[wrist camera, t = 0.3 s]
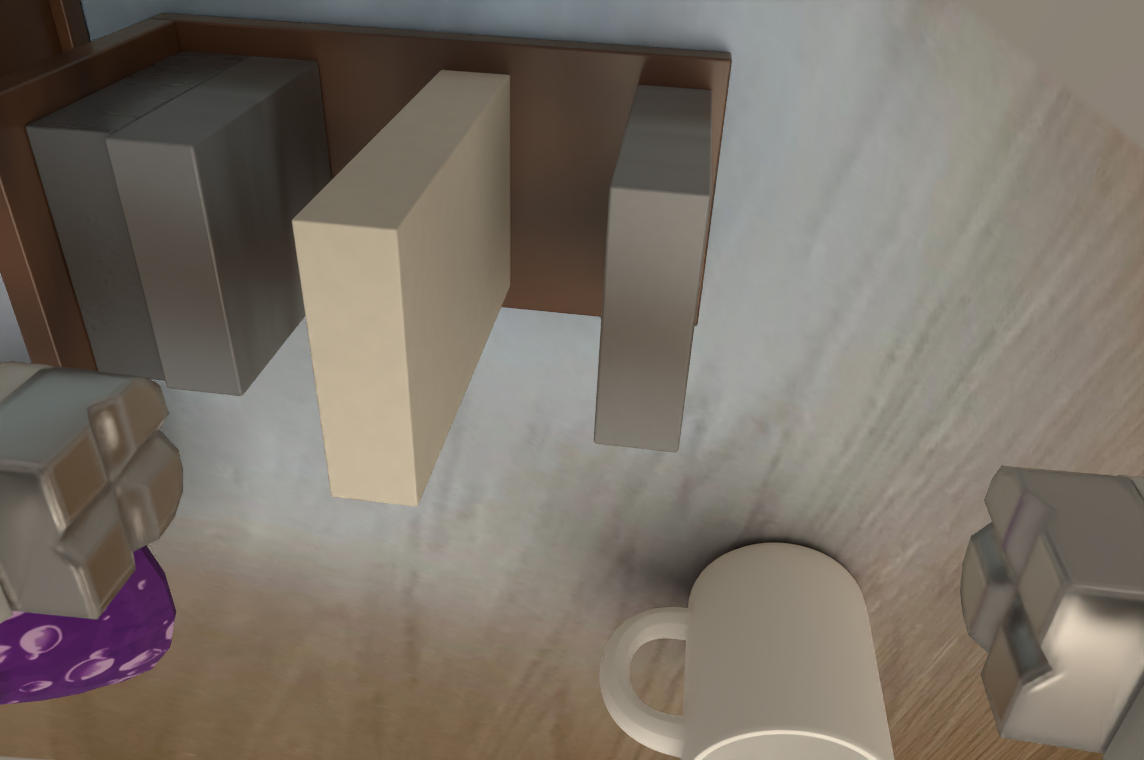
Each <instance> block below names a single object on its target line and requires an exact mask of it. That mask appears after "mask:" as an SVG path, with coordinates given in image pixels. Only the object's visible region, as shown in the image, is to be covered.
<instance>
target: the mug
mask: <svg viewBox="0 0 1144 760" xmlns="http://www.w3.org/2000/svg"><path fill="white" fill-rule="evenodd" d="M661 638H672V639H680V640H685V641H686V650H685V674H684V699H683V716H676V715H670V714H666V713H662V712H659V711H656V710H654V709H652V708H650V707H648V706H647V705H645V704H644V703H643V702H642V701H640V699H639V698H638V697H637V695H636V694H635V692H634V690H633V689H632V686H631V683H630V678H629V668H630V663H631V659H632V657H633V655H634V654H635V652H636V651H637V649H638V648H639V647H640V646H641V645H643V644H644V643H646V642H648V641H651V640H654V639H661ZM599 680H600V689H601V692H602V696H603V699H604V702H605V705H606V707H607V709H608V711H609V713H610V715H611V716H612V718H613V719H614V720H615V722H616V723H617V725H618V726H619V727H620V728H621V729H622V730H623V731H625V732H626V733H627V734H628V735H629V736H630V737H632V738H633V739H635V740H636V741H638V742H639V743H641V744H643V745H645V746H647V747H649V748H651V749H653V750H656V751H659V752H661V753H664V754H668V755H671V756H676V757H679V758H681V760H894V756H893V750H892V745H891V739H890V734H889V728H888V723H887V717H886V712H885V706H884V701H883V695H882V690H881V684H880V678H879V673H878V667H877V662H876V656H875V651H874V645H873V640H872V634H871V629H870V623H869V618H868V613H867V608H866V605H865V601H864V598H863V595H862V593H861V590H860V588H859V586H858V584H857V583H856V581H855V579H854V578H853V577H852V576H851V574H850V573H849V572H848V571H847V570H846V569H845V568H844V567H843V566H842V565H841V564H839V563H838V562H837V561H835V560H834V559H832V558H831V557H829V556H827V555H825V554H823V553H821V552H819V551H816V550H814V549H811V548H807V547H804V546H800V545H795V544H789V543H760V544H753V545H749V546H744V547H741V548H738V549H735V550H733V551H730V552H728V553H726V554H724V555H722V556H720V557H719V558H717V559H716V560H714V561H713V562H712V563H710V564H709V565H708V566H707V567H706V568H705V569H704V570H703V571H702V573H701V574H700V575H699V577H698V578H697V580H696V581H695V583H694V585H693V587H692V590H691V594H690V597H689V602H688V608H684V607H661V608H654V609H650V610H646V611H643V612H641V613H638V614H636V615H634V616H632V617H631V618H629V619H628V620H626V621H625V622H623V623H622V624H621V625H620V626H619V627H618V628H617V629H616V630H615V631H614V632H613V634H612V635H611V637H610V638H609V640H608V642H607V644H606V646H605V649H604V651H603V654H602V658H601V662H600V669H599Z"/></svg>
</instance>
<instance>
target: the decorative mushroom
mask: <svg viewBox="0 0 1144 760" xmlns="http://www.w3.org/2000/svg"><path fill="white" fill-rule="evenodd" d="M133 555H134V562H135V568H136V570H135V571H134V573H133V574H132V575H131V576H130V578H129V579H128V580H127V582H126V583H125V584H124V586H123V587H122V588H121V589H120V591H119V592H118V593H117V595H116V596H115V597H114V599H113V600H112V601H111V602H110V604H109V605H108V606H107V608H106V609H105V610H104V612H103V613H102V614H101V616H100V617H99V618H98V619H88V618H78V617H68V616H58V615H48V614H38V613H29V612H19V611H12V612H13V616H11V617H10V618H8V619H7V620H5V621H4V622H2V623H0V705H1V704H12V703H22V702H32V701H41V700H47V699H53V698H59V697H64V696H70V695H76V694H80V693H84V692H87V691H90V690H93V689H96V688H99V687H103V686H107V685H111V684H116V683H120V682H123V681H126V680H128V679H130V678H132V677H135V676H137V675H139V674H142V673H144V672H146V671H149V670H151V669H152V668H153V667H154V666H155V665H156V663H157V662H158V661H159V660H160V659H161V657H162V656H163V655H164V654H165V653H166V651H167V650H168V649H169V648H170V645H171V641H172V634H173V628H174V622H175V616H176V609H175V606H174V603H173V599H172V596H171V592H170V589H169V586H168V582H167V579H166V575H165V572H164V571H163V569H162V568H161V566H160V565H159V563H158V562H157V561H156V559H155V558H154V556H153V555H152V553H151V552H150V550H149V549H148V547H147V546H144V547H142V548H140V549H138V550H136V551H134V552H133Z"/></svg>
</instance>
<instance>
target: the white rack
mask: <svg viewBox="0 0 1144 760" xmlns="http://www.w3.org/2000/svg"><path fill="white" fill-rule="evenodd" d="M89 42H90V41H89V37H88V33H87V29H86V25H85V21H84V17H83V13H82V9H81V5H80V0H0V77H3V76H5V75H8V74H10V73H13V72H16V71H18V70H21V69H23V68H26V67H28V66H31V65H33V64H36V63H38V62H41V61H43V60H46V59H48V58H51V57H53V56H56V55H58V54H61V53H63V52H66V51H68V50H71V49H73V48H76V47H78V46H81V45H83V44H86V43H89Z"/></svg>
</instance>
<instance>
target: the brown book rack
mask: <svg viewBox="0 0 1144 760" xmlns="http://www.w3.org/2000/svg"><path fill="white" fill-rule="evenodd" d="M731 63H732V58H731V53H729V52H715V51H701V50H687V49H672V48H658V47H644V46H629V45H615V44H601V43H586V42H572V41H558V40H544V39H529V38H515V37H501V36H486V35H472V34H458V33H444V32H429V31H415V30H401V29H386V28H372V27H358V26H344V25H329V24H315V23H301V22H286V21H272V20H258V19H244V18H229V17H215V16H201V15H186V14H172V13H162V14H159V15H157V16H154V17H152V18H149V19H146V20H144V21H141V22H139V23H136V24H134V25H131V26H129V27H126V28H124V29H121V30H119V31H116V32H114V33H111V34H109V35H106V36H104V37H101V38H99V39H96V40H94V41H91V42H89V43H86V44H83V45H81V46H78V47H76V48H73V49H71V50H68V51H66V52H63V53H61V54H58V55H56V56H53V57H51V58H48V59H46V60H43V61H41V62H38V63H36V64H33V65H31V66H28V67H26V68H23V69H21V70H18V71H16V72H13V73H10V74H8V75H5V76H3V77H0V273H1V276H2V278H3V281H4V284H5V287H6V290H7V293H8V296H9V299H10V302H11V304H12V307H13V310H14V313H15V316H16V319H17V322H18V325H19V328H20V330H21V333H22V336H23V339H24V342H25V345H26V348H27V351H28V354H29V356H30V359H31V362H32V364H42V365H49V366H53V367H56V366H60V367H68V368H76V369H84V370H92V371H100V372H108V373H116V374H124V375H132V376H140V377H147V378H149V379H157V380H165V381H166V385H167V387H168V388H173V389H182V390H191V391H200V392H209V393H218V394H227V395H236V396H242V395H243V394H244V393H245V392H246V390H247V389H248V388H249V387H250V385H251V384H252V383H253V382H254V380H255V379H256V378H257V376H258V375H259V374H260V373H261V371H262V370H263V369H264V368H265V366H266V365H267V364H268V362H269V361H270V360H271V359H272V357H273V356H274V355H275V354H276V352H277V351H278V350H279V349H280V347H281V346H282V345H283V343H284V342H285V341H286V340H287V338H288V337H289V336H290V335H291V333H292V332H293V331H294V329H295V328H296V327H297V326H298V324H299V323H300V322H301V321H302V319H303V318H304V317H305V309H304V302H303V295H302V288H301V281H300V274H299V267H298V260H297V253H296V246H295V239H294V232H293V225H292V220H293V219H294V218H295V217H296V216H297V214H298V213H299V212H300V211H301V210H302V209H303V208H304V207H305V206H306V205H307V204H308V203H309V202H310V201H311V200H312V199H313V198H314V197H315V196H316V195H317V194H318V193H319V192H320V191H321V190H322V189H323V188H324V187H325V186H326V185H327V184H328V183H329V182H330V181H331V180H332V179H333V178H334V177H335V176H336V175H337V174H338V173H339V172H340V171H341V170H342V169H343V168H344V167H345V166H346V165H347V164H348V163H349V162H350V161H351V160H352V159H353V158H354V157H355V156H356V155H357V154H358V153H359V152H360V151H361V150H362V149H363V148H364V147H365V146H366V145H367V144H368V143H369V142H370V141H371V140H372V139H373V138H374V137H375V136H376V135H377V134H378V133H379V132H380V131H381V130H382V129H383V128H384V127H385V126H386V125H387V124H388V123H389V122H390V121H391V120H392V119H393V118H394V117H395V116H396V115H397V114H398V113H399V112H400V111H401V110H402V109H403V108H404V107H405V106H406V105H407V104H408V103H409V102H410V101H411V100H412V99H413V98H414V97H415V96H416V95H417V94H418V93H419V92H420V91H421V90H422V89H423V88H424V87H425V86H426V85H427V84H428V83H429V82H430V81H431V80H432V79H433V78H434V77H435V76H436V75H437V74H438V73H439V72H440V71H441V70H450V71H463V72H477V73H490V74H504V75H510V287H509V290H508V292H507V294H506V297H505V299H504V301H503V304H502V306H501V307H507V308H517V309H528V310H538V311H548V312H558V313H568V314H579V315H589V316H599V317H601V333H600V349H599V365H598V381H597V397H596V413H595V429H594V442H595V443H596V444H605V445H614V446H623V447H632V448H641V449H650V450H659V451H668V452H677V451H678V450H679V442H680V434H681V427H682V419H683V411H684V403H685V395H686V387H687V380H688V372H689V364H690V356H691V348H692V341H693V333H694V326H696V325H697V324H698V317H699V309H700V301H701V294H702V286H703V278H704V271H705V263H706V255H707V248H708V240H709V232H710V225H711V217H712V209H713V201H714V194H715V186H716V178H717V171H718V163H719V155H720V148H721V140H722V132H723V125H724V117H725V109H726V101H727V94H728V86H729V78H730V71H731Z"/></svg>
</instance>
